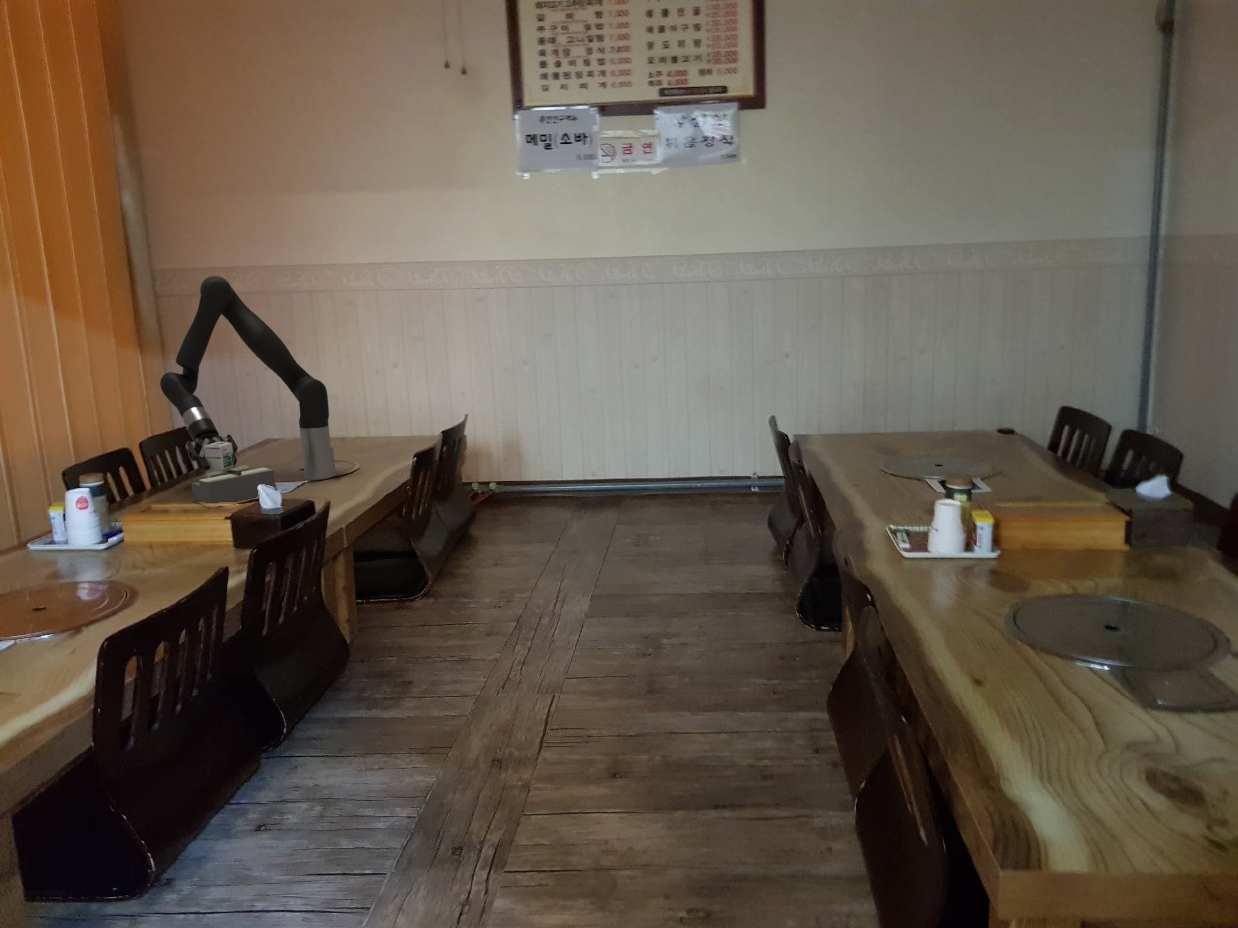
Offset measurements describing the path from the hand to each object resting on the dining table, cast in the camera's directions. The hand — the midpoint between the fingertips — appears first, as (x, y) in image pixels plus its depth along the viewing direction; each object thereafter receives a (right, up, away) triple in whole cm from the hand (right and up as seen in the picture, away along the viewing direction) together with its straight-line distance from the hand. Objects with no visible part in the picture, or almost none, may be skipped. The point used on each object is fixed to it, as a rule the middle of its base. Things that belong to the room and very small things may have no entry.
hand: (221, 466), depth 298 cm
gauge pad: (+6, -9, -3) cm, 11 cm away
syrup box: (-1, -7, +2) cm, 8 cm away
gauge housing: (+5, -10, -2) cm, 11 cm away
